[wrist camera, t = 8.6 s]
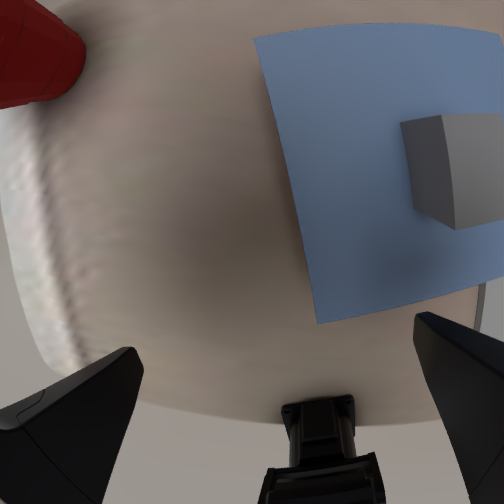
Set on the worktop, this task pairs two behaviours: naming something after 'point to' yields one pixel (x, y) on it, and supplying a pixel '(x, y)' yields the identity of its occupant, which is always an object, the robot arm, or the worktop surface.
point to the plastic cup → (36, 54)
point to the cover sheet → (391, 158)
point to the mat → (491, 309)
